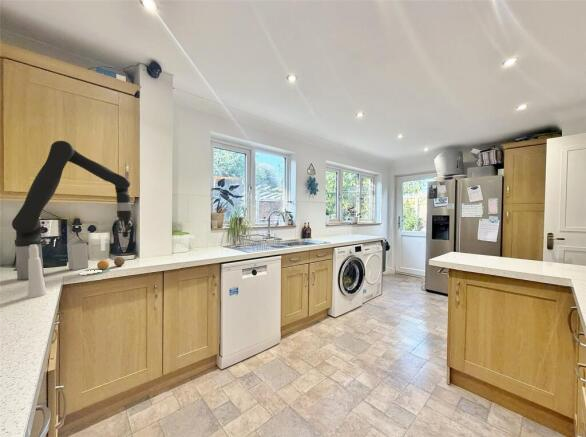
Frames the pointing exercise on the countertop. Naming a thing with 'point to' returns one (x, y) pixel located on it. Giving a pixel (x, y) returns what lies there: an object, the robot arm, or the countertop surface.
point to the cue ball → (119, 261)
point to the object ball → (103, 264)
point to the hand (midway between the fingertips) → (125, 237)
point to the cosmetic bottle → (35, 274)
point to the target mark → (98, 272)
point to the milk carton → (77, 254)
